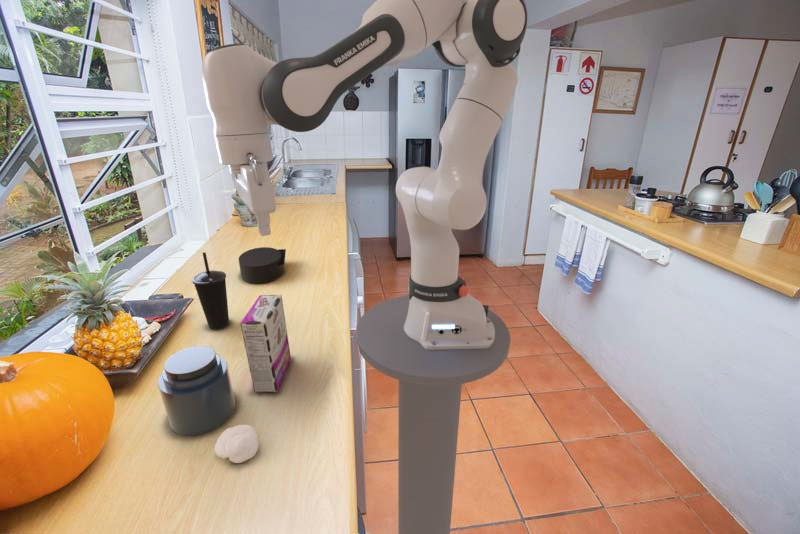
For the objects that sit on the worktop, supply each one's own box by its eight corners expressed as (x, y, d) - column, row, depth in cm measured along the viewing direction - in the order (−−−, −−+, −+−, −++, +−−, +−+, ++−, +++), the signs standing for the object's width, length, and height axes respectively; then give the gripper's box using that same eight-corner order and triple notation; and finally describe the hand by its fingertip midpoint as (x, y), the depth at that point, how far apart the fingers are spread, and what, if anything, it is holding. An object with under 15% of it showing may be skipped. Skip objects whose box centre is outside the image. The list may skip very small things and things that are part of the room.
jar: (246, 395, 76) (236, 344, 71) (213, 439, 66) (199, 383, 61) (195, 389, 78) (182, 338, 73) (155, 431, 68) (137, 376, 63)
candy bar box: (269, 359, 87) (259, 294, 80) (291, 359, 87) (283, 294, 80) (252, 393, 76) (238, 322, 70) (277, 393, 76) (266, 322, 70)
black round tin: (237, 288, 122) (234, 267, 119) (244, 264, 137) (242, 244, 134) (285, 285, 125) (283, 265, 122) (287, 261, 141) (285, 243, 137)
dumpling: (262, 438, 67) (262, 424, 65) (254, 467, 62) (254, 453, 60) (219, 435, 66) (218, 421, 63) (209, 465, 61) (207, 451, 59)
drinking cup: (215, 335, 95) (198, 261, 88) (196, 327, 99) (179, 254, 91) (241, 322, 101) (228, 251, 94) (222, 314, 105) (208, 245, 97)
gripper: (276, 154, 60) (290, 239, 65) (255, 147, 76) (267, 215, 82) (233, 158, 57) (251, 246, 62) (220, 150, 74) (236, 220, 79)
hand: (260, 228), depth 72 cm, fingers open, 8 cm apart
